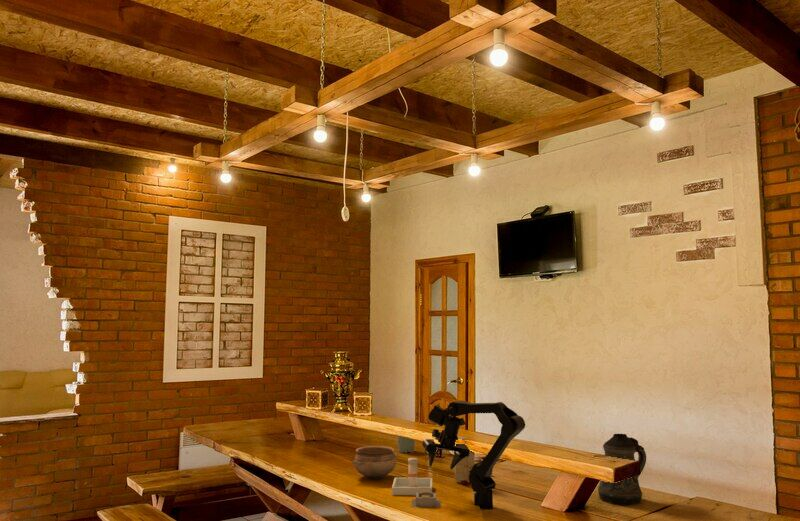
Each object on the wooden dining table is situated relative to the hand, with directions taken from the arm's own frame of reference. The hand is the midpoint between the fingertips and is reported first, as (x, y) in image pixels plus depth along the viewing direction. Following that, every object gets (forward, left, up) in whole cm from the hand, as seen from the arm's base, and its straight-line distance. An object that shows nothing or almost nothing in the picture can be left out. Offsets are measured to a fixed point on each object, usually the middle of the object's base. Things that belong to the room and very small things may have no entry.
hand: (440, 467), depth 249 cm
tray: (+12, -8, -12) cm, 18 cm away
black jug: (-71, -3, -12) cm, 72 cm away
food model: (-10, -23, -12) cm, 28 cm away
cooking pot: (+30, -31, -12) cm, 45 cm away
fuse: (+12, -8, -11) cm, 18 cm away
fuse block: (+6, +11, -12) cm, 17 cm away
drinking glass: (+19, -88, -12) cm, 91 cm away
